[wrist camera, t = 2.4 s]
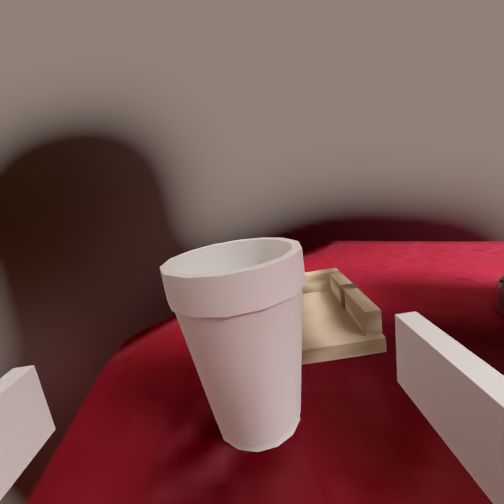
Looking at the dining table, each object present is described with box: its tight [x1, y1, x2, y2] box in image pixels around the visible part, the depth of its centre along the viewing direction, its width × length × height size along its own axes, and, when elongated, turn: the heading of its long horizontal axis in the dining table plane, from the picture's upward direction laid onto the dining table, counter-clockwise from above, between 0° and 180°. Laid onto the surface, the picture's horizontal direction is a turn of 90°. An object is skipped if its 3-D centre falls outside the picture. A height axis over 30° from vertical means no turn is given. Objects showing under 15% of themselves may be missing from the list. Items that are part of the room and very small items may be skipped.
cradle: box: [301, 268, 387, 365], centre depth 35 cm, size 16×15×4 cm
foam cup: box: [160, 238, 306, 452], centre depth 22 cm, size 10×9×13 cm
